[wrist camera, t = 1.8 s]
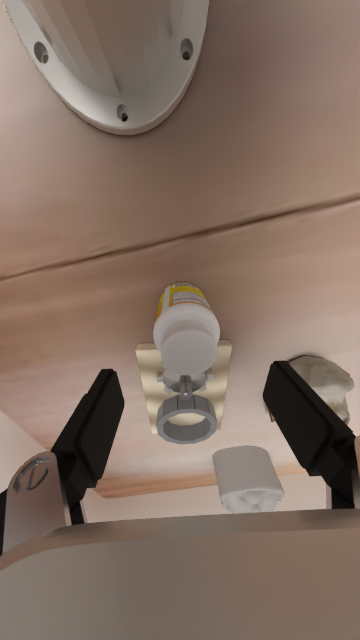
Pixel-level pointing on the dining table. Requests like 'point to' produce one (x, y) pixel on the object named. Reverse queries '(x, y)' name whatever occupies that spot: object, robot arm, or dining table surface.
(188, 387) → the gear
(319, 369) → the ceramic sculpture
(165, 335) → the supplement bottle
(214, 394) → the gear board
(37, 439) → the dining table surface
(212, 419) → the socket ring
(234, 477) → the lumpy-topped squat cylinder
